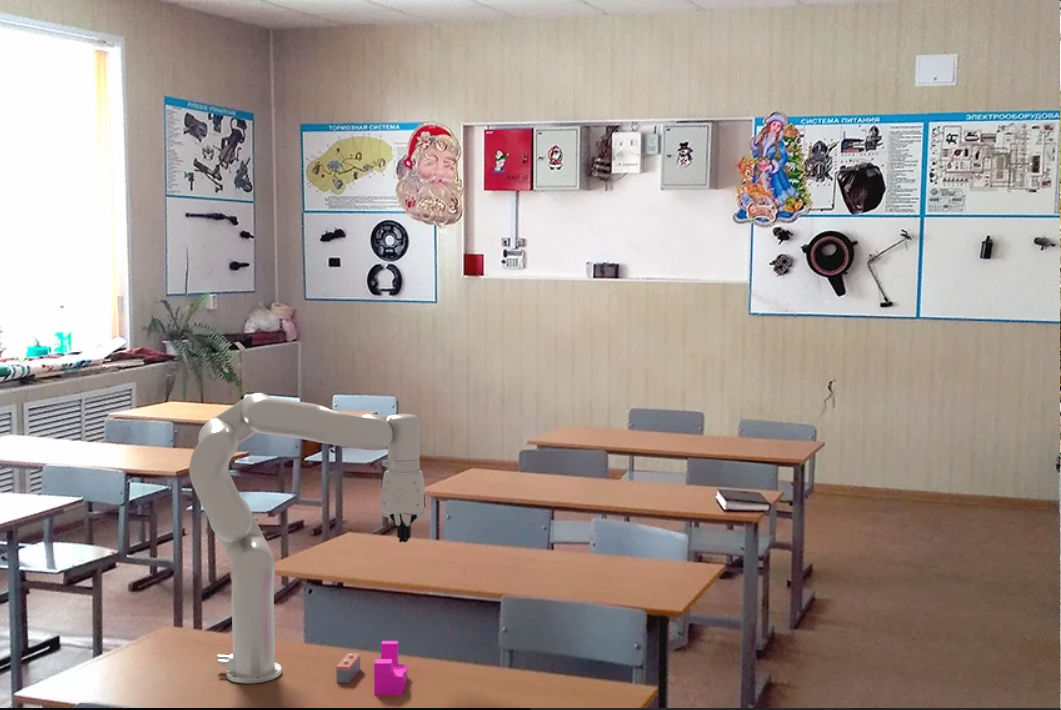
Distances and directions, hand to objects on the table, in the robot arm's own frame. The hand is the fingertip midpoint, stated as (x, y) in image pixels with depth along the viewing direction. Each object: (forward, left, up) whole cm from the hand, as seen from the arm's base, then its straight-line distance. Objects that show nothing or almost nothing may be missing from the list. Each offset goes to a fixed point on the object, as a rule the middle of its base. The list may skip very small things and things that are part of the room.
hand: (404, 540), depth 280 cm
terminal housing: (-10, -13, -29) cm, 34 cm away
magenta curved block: (+1, -16, -30) cm, 34 cm away
